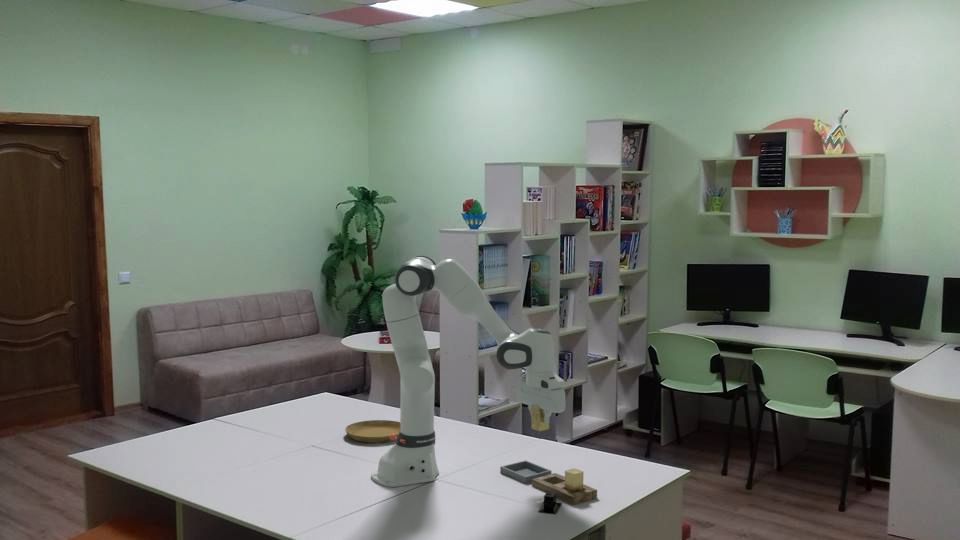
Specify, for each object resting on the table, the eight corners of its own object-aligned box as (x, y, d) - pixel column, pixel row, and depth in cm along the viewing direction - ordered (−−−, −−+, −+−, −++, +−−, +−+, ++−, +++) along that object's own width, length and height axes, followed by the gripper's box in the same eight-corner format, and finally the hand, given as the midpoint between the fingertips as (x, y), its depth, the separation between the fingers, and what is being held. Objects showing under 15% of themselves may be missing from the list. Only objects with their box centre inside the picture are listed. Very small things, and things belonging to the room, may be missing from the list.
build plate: (542, 501, 253) (542, 486, 253) (566, 503, 251) (566, 488, 251) (533, 515, 241) (533, 500, 241) (558, 518, 239) (558, 502, 239)
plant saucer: (375, 424, 336) (375, 415, 335) (421, 434, 322) (421, 425, 321) (331, 438, 316) (331, 429, 316) (378, 449, 302) (378, 440, 302)
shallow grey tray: (525, 485, 265) (525, 477, 265) (500, 473, 276) (500, 466, 275) (551, 478, 272) (551, 470, 272) (525, 467, 282) (525, 460, 282)
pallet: (573, 504, 248) (573, 496, 248) (531, 486, 264) (531, 479, 263) (597, 497, 254) (597, 489, 254) (555, 480, 270) (555, 472, 269)
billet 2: (573, 499, 253) (573, 474, 252) (564, 496, 256) (564, 470, 255) (583, 497, 255) (583, 471, 254) (574, 493, 258) (574, 468, 258)
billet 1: (539, 431, 265) (539, 406, 264) (531, 428, 268) (531, 404, 267) (549, 428, 267) (549, 404, 266) (541, 426, 270) (540, 402, 270)
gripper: (511, 374, 272) (511, 416, 273) (553, 385, 256) (554, 429, 257) (526, 371, 276) (526, 412, 277) (568, 382, 260) (569, 425, 261)
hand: (540, 420), depth 267 cm, fingers closed on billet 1, 4 cm apart
